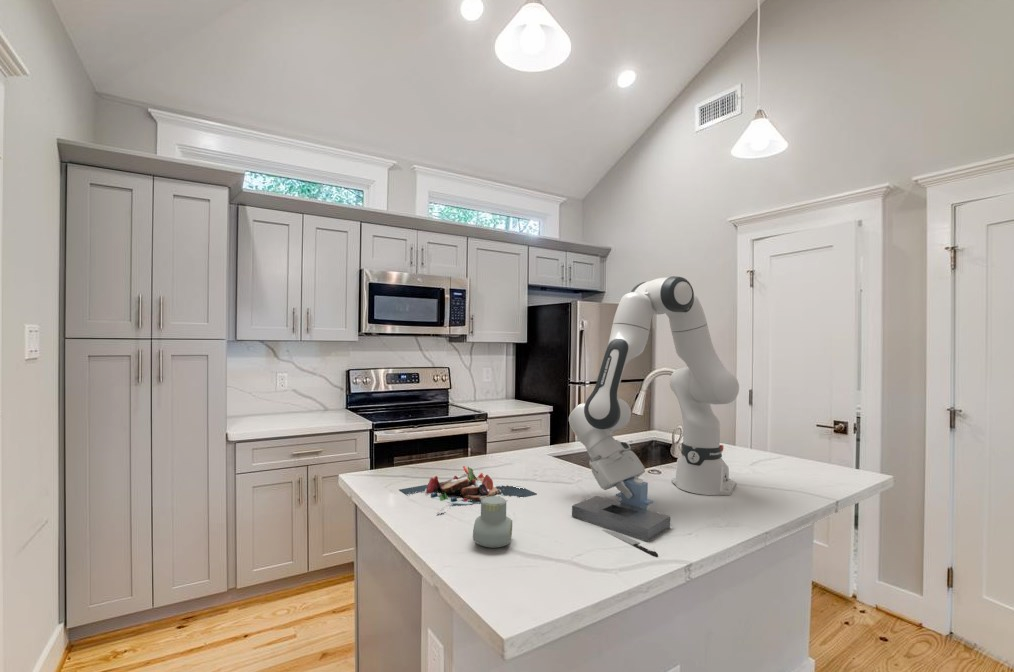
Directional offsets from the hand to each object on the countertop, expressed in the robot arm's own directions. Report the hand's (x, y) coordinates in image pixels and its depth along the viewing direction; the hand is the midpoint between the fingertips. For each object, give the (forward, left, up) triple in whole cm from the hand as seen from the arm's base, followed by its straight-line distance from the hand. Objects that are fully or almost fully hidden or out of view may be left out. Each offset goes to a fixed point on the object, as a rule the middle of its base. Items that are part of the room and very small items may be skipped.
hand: (636, 494), depth 139 cm
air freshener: (+44, -13, -5) cm, 46 cm away
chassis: (+11, +1, -4) cm, 12 cm away
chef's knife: (+20, +9, -5) cm, 22 cm away
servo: (0, -1, -4) cm, 4 cm away
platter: (+23, -44, -6) cm, 50 cm away
